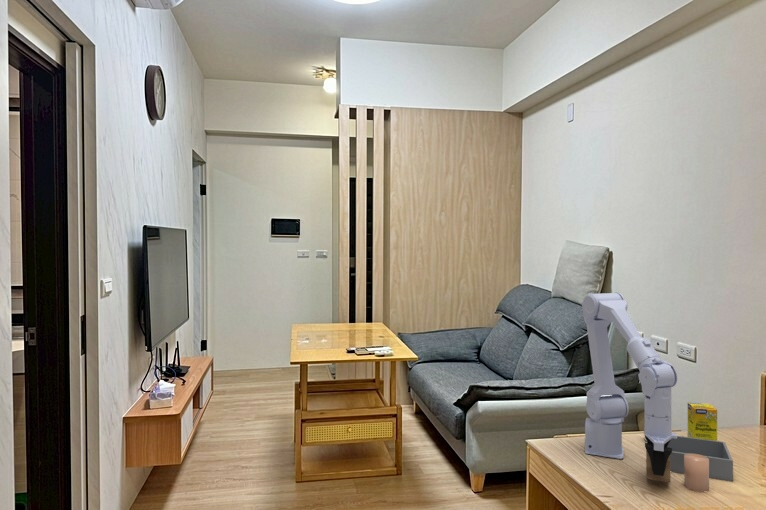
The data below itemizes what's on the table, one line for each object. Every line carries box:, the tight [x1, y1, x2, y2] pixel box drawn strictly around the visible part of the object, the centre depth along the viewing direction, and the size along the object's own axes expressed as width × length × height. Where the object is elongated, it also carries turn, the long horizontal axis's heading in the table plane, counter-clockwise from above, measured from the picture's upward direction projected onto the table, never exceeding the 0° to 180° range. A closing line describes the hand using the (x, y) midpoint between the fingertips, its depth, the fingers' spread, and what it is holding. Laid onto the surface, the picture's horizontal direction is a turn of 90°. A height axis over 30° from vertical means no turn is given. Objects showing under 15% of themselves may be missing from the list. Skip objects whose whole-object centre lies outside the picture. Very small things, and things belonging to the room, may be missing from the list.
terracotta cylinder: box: [683, 453, 710, 493], centre depth 121 cm, size 5×5×7 cm
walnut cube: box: [645, 449, 671, 483], centre depth 124 cm, size 5×5×5 cm
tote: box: [667, 435, 734, 482], centre depth 134 cm, size 17×13×5 cm
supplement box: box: [687, 402, 718, 441], centre depth 148 cm, size 6×6×11 cm
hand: (658, 470), depth 124 cm, fingers closed on walnut cube, 5 cm apart
